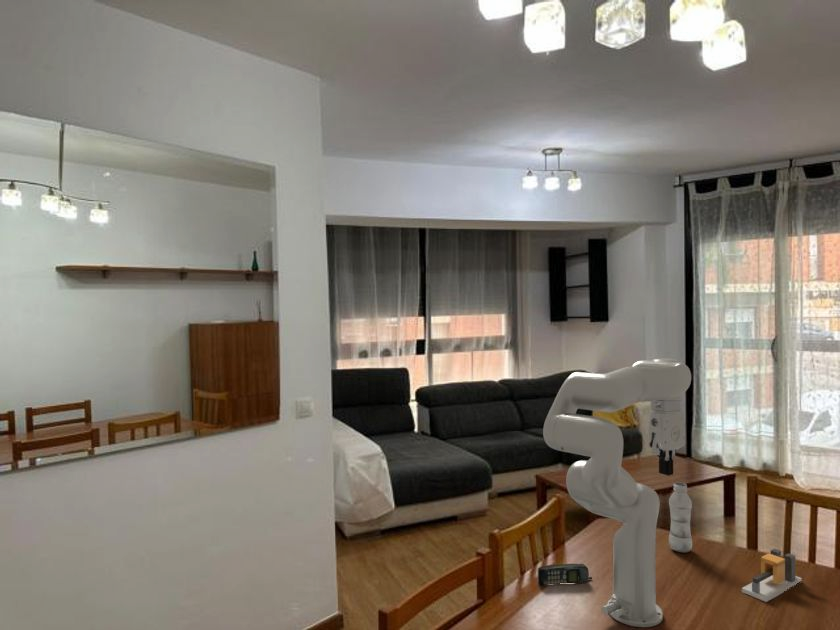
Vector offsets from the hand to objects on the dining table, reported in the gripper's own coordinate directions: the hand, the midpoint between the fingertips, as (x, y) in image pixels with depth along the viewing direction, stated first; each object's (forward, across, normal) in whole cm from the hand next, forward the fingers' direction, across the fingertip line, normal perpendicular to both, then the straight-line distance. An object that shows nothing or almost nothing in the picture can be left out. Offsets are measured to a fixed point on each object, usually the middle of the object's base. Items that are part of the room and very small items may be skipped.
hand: (666, 473), depth 152 cm
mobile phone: (+30, -22, +15) cm, 40 cm away
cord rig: (+29, +20, -17) cm, 39 cm away
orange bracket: (+27, +20, -17) cm, 38 cm away
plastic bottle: (+29, +20, +9) cm, 37 cm away
